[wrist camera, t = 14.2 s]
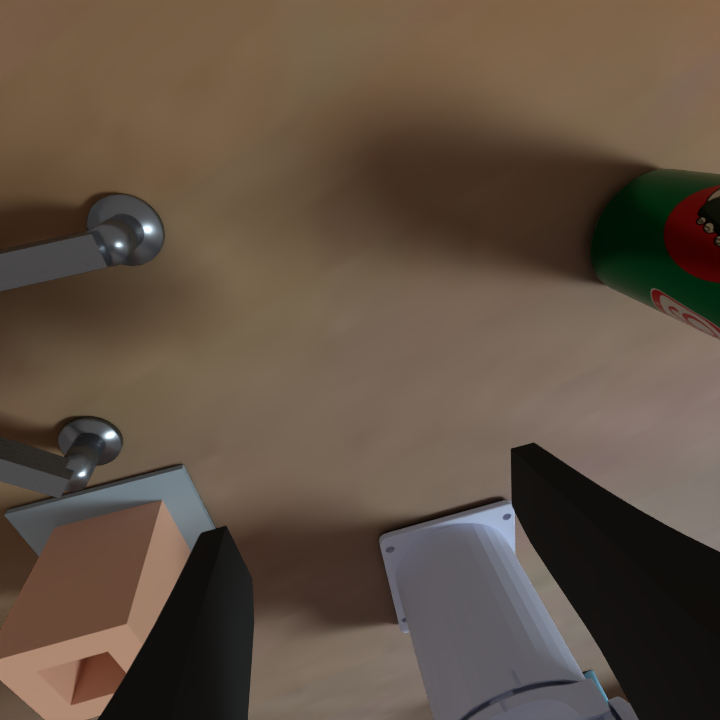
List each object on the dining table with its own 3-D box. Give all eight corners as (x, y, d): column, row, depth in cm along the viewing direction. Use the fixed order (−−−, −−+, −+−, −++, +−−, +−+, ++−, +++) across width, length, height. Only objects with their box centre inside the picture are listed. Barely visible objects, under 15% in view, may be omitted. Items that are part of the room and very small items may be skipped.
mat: (237, 570, 25) (236, 575, 24) (91, 611, 24) (89, 616, 24) (183, 464, 21) (182, 468, 20) (7, 509, 20) (3, 515, 20)
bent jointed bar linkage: (242, 425, 20) (238, 469, 18) (-1, 487, 19) (-42, 543, 17) (147, 186, 15) (122, 199, 13) (-186, 258, 14) (-286, 288, 12)
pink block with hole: (199, 566, 23) (179, 692, 18) (103, 591, 23) (55, 728, 18) (162, 499, 21) (126, 624, 16) (54, 527, 21) (-19, 664, 15)
